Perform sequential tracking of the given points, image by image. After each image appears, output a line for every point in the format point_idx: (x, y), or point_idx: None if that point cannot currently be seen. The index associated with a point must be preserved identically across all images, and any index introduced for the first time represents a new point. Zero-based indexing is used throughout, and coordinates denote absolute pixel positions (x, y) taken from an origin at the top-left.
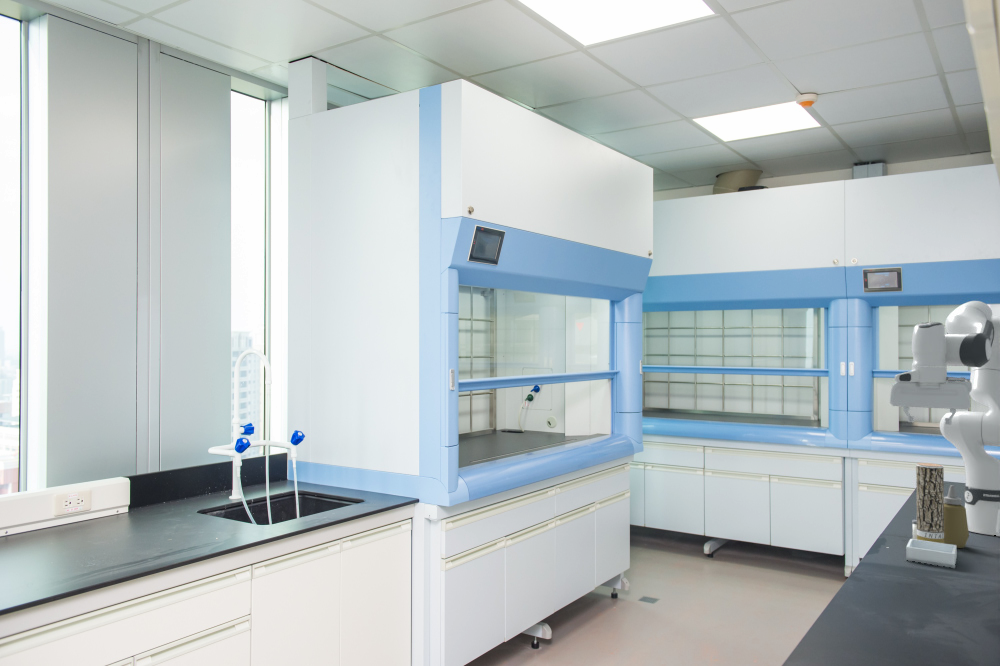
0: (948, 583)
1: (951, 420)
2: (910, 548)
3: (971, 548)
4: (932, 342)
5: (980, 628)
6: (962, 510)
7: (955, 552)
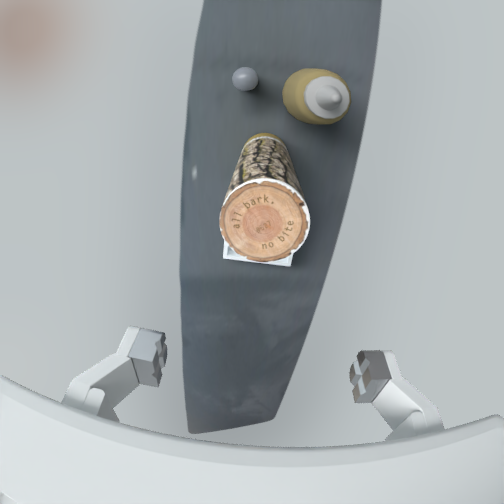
0: (270, 319)
1: (395, 371)
2: (229, 257)
3: None
4: None
5: (277, 396)
6: (341, 118)
7: None
